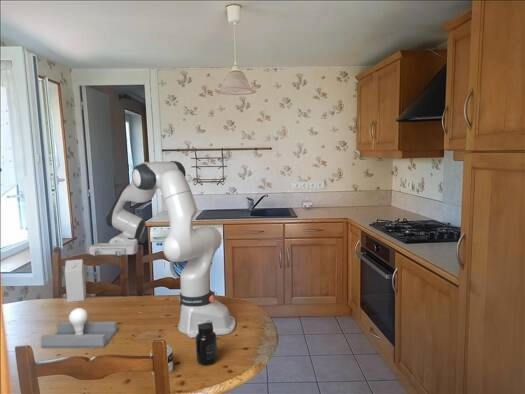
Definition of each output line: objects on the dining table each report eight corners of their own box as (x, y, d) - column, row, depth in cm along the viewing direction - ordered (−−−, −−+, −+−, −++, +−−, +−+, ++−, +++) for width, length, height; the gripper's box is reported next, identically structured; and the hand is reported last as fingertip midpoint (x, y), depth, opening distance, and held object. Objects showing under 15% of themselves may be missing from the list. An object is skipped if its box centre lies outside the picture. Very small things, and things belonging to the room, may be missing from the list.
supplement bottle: (218, 354, 126) (217, 320, 124) (216, 365, 119) (215, 330, 118) (198, 354, 126) (196, 321, 124) (195, 366, 119) (193, 331, 117)
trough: (117, 331, 143) (116, 321, 142) (103, 347, 131) (102, 337, 130) (60, 331, 143) (59, 321, 143) (41, 348, 131) (40, 337, 131)
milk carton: (70, 297, 177) (67, 258, 175) (86, 295, 179) (83, 257, 177) (67, 302, 170) (63, 262, 168) (84, 300, 173) (81, 261, 170)
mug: (168, 377, 113) (167, 357, 112) (147, 376, 114) (146, 355, 113) (180, 359, 123) (179, 340, 122) (161, 358, 124) (160, 339, 123)
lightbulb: (81, 341, 133) (79, 312, 132) (66, 340, 134) (64, 311, 133) (92, 333, 139) (90, 305, 138) (77, 332, 140) (75, 304, 139)
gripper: (96, 239, 170) (81, 246, 156) (140, 238, 170) (129, 246, 156) (97, 252, 171) (82, 261, 157) (141, 252, 171) (130, 261, 157)
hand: (106, 253), depth 157 cm, fingers open, 8 cm apart
